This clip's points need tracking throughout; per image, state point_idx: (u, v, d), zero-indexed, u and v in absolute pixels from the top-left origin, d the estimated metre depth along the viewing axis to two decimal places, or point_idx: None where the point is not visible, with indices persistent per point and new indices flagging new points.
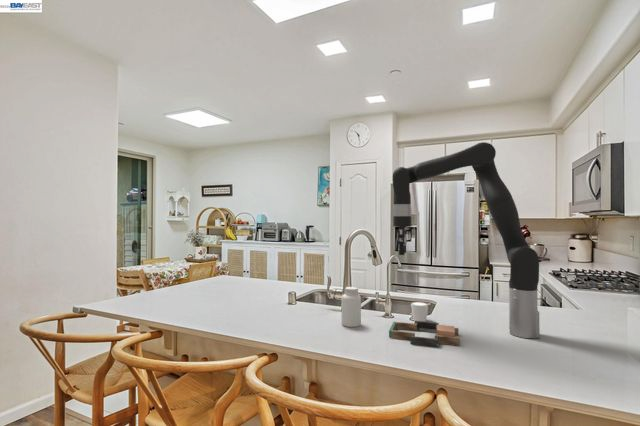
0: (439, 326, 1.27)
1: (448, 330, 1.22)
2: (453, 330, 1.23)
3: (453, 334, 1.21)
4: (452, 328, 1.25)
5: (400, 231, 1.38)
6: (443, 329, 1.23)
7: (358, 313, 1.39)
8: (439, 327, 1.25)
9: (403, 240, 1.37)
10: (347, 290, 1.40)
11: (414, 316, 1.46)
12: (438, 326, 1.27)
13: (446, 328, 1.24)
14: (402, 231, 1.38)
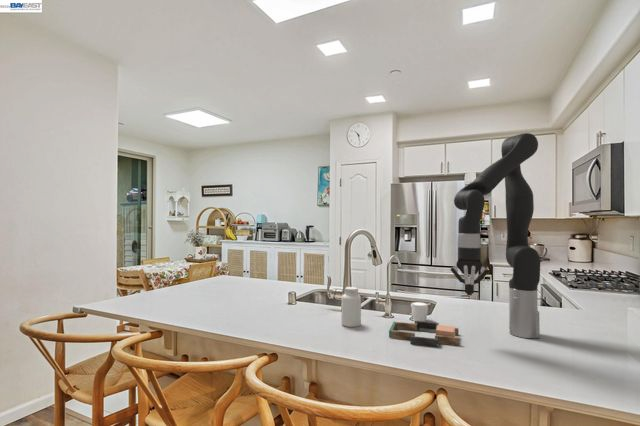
0: (439, 326, 1.27)
1: (447, 330, 1.22)
2: (453, 330, 1.23)
3: (452, 334, 1.21)
4: (452, 328, 1.24)
5: (487, 272, 1.20)
6: (443, 329, 1.24)
7: (358, 313, 1.39)
8: (439, 327, 1.25)
9: None
10: (347, 290, 1.40)
11: (414, 316, 1.46)
12: (438, 326, 1.27)
13: (446, 328, 1.24)
14: None
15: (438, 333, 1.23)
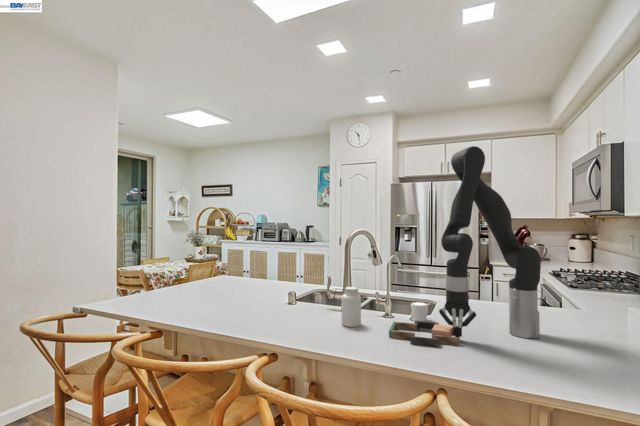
0: (436, 326, 1.27)
1: (443, 330, 1.23)
2: (449, 329, 1.23)
3: (448, 334, 1.21)
4: (448, 328, 1.25)
5: None
6: (439, 329, 1.24)
7: (358, 313, 1.39)
8: (435, 327, 1.26)
9: None
10: (347, 290, 1.40)
11: (414, 316, 1.46)
12: (435, 326, 1.27)
13: (442, 328, 1.24)
14: None
15: (434, 333, 1.23)
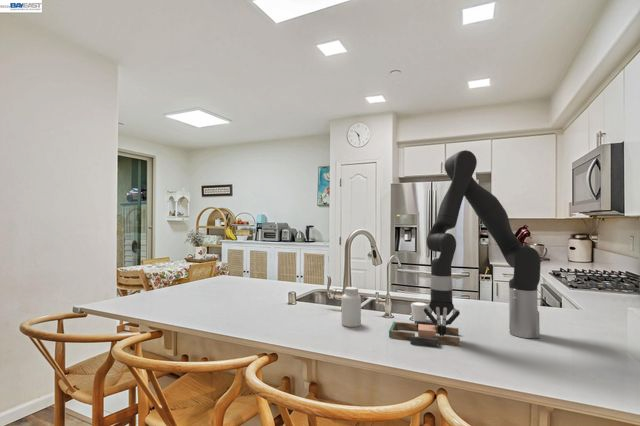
0: (420, 325, 1.28)
1: (429, 329, 1.23)
2: (434, 329, 1.24)
3: (434, 333, 1.22)
4: (433, 327, 1.26)
5: (458, 314, 1.23)
6: (424, 328, 1.24)
7: (358, 313, 1.39)
8: (420, 327, 1.26)
9: None
10: (347, 290, 1.40)
11: (414, 316, 1.46)
12: (419, 325, 1.28)
13: (427, 328, 1.25)
14: None
15: (420, 333, 1.23)
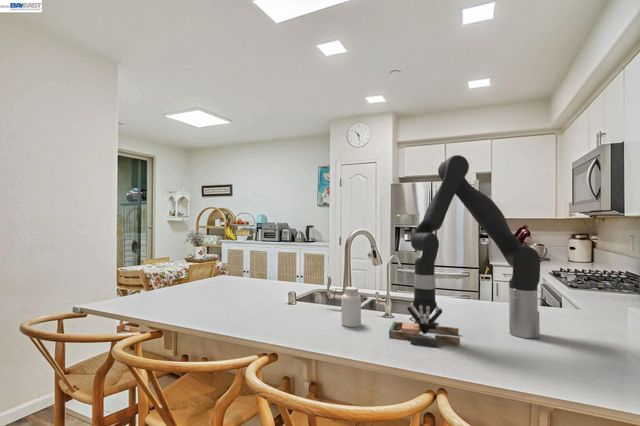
0: (404, 324, 1.30)
1: (412, 328, 1.26)
2: (418, 327, 1.26)
3: (417, 331, 1.24)
4: (416, 326, 1.28)
5: (441, 312, 1.25)
6: (408, 327, 1.27)
7: (358, 313, 1.39)
8: (404, 325, 1.28)
9: None
10: (347, 290, 1.40)
11: None
12: (403, 324, 1.30)
13: (411, 326, 1.27)
14: None
15: (404, 331, 1.25)
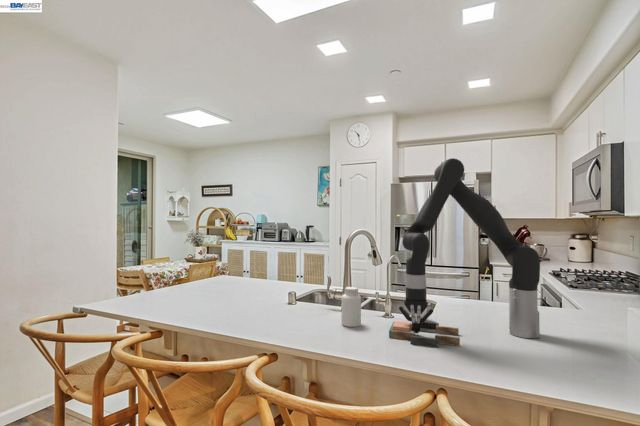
0: (396, 322, 1.32)
1: (403, 326, 1.27)
2: (409, 325, 1.28)
3: (408, 330, 1.25)
4: (408, 324, 1.29)
5: (432, 311, 1.26)
6: (399, 325, 1.28)
7: (358, 313, 1.39)
8: (396, 324, 1.30)
9: None
10: (347, 290, 1.40)
11: None
12: (395, 322, 1.31)
13: (402, 325, 1.29)
14: None
15: (394, 329, 1.27)
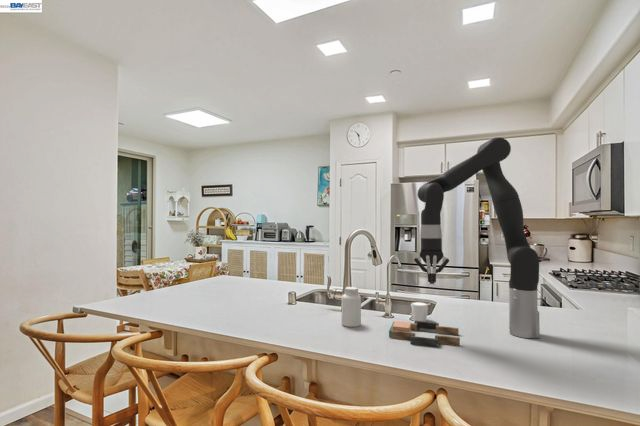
0: (396, 322, 1.32)
1: (403, 326, 1.27)
2: (409, 325, 1.28)
3: (408, 330, 1.25)
4: (408, 324, 1.29)
5: (448, 261, 1.26)
6: (399, 325, 1.28)
7: (358, 313, 1.39)
8: (396, 324, 1.30)
9: None
10: (347, 290, 1.40)
11: (414, 316, 1.46)
12: (395, 322, 1.32)
13: (402, 324, 1.29)
14: None
15: (395, 329, 1.27)
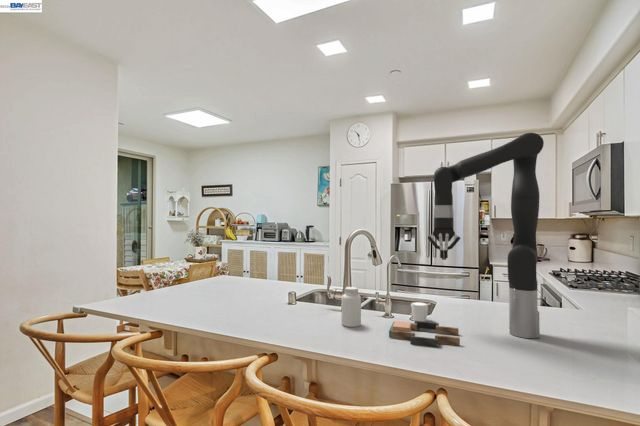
0: (396, 322, 1.32)
1: (403, 326, 1.27)
2: (409, 325, 1.28)
3: (408, 330, 1.25)
4: (408, 324, 1.29)
5: None
6: (399, 325, 1.28)
7: (358, 313, 1.39)
8: (396, 324, 1.30)
9: None
10: (347, 290, 1.40)
11: (414, 316, 1.46)
12: (395, 322, 1.31)
13: (402, 324, 1.29)
14: None
15: (395, 329, 1.27)
